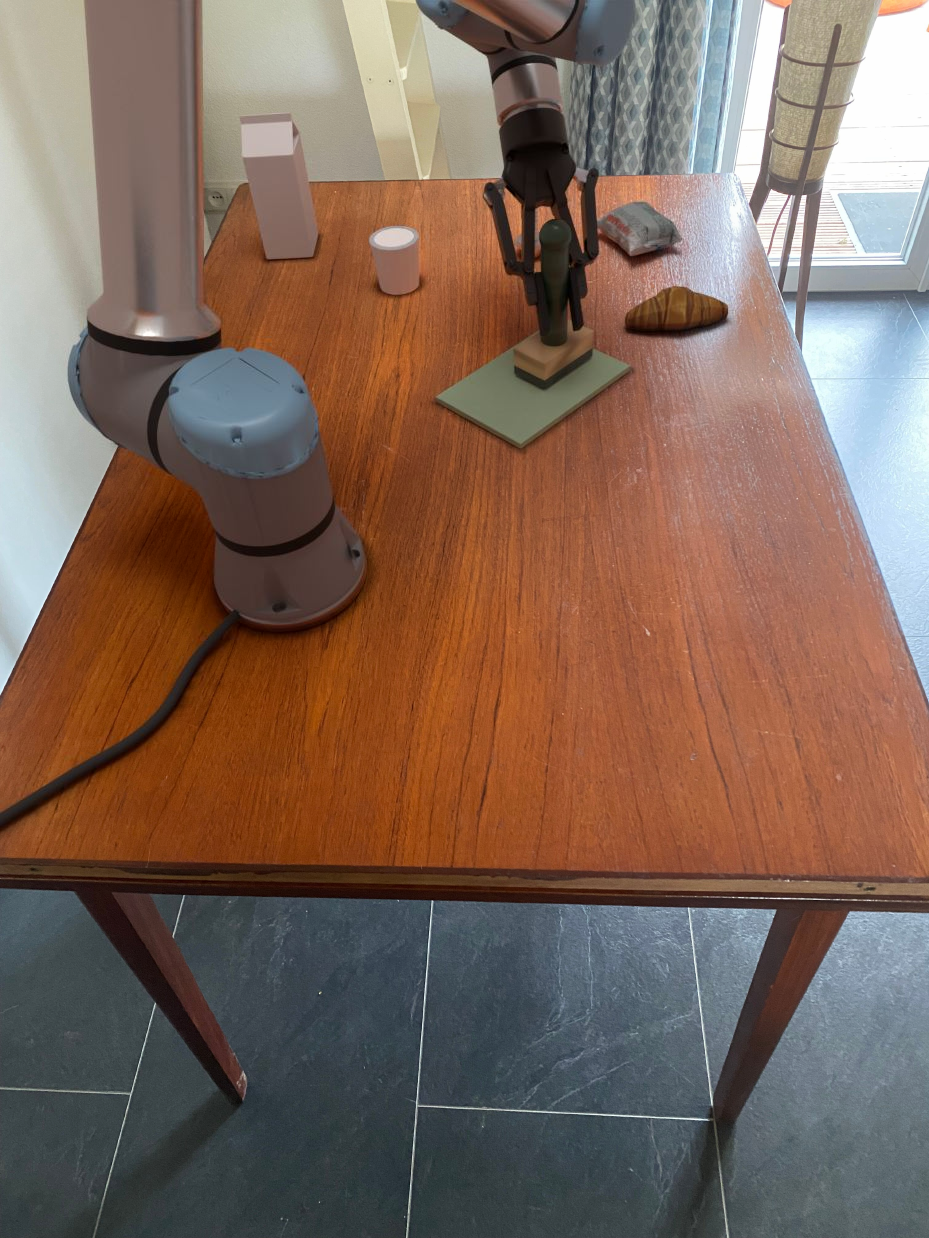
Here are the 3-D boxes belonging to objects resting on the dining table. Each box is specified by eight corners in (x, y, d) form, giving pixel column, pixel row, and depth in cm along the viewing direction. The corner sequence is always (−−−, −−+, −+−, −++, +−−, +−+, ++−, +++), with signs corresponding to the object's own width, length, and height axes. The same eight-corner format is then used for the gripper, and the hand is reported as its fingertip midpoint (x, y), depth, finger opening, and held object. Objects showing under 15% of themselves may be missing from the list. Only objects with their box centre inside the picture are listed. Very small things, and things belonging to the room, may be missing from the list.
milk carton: (313, 258, 136) (287, 123, 121) (266, 260, 136) (234, 126, 122) (319, 235, 140) (294, 102, 126) (273, 237, 141) (243, 105, 126)
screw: (553, 249, 133) (540, 264, 130) (522, 243, 134) (509, 259, 132) (554, 157, 123) (540, 172, 120) (521, 152, 125) (507, 167, 122)
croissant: (719, 305, 120) (725, 269, 117) (733, 332, 116) (740, 296, 112) (618, 315, 120) (621, 280, 117) (629, 343, 116) (632, 308, 112)
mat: (520, 449, 103) (520, 444, 103) (435, 402, 110) (435, 396, 110) (630, 370, 112) (630, 365, 111) (544, 331, 119) (544, 325, 118)
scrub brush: (544, 389, 109) (545, 243, 95) (514, 373, 111) (510, 229, 97) (592, 356, 113) (600, 211, 99) (562, 341, 115) (565, 198, 101)
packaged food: (629, 270, 128) (632, 236, 124) (588, 235, 135) (590, 201, 131) (682, 255, 130) (686, 221, 126) (639, 221, 137) (642, 188, 133)
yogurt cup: (432, 278, 130) (428, 231, 124) (405, 301, 126) (399, 253, 121) (394, 268, 132) (388, 221, 127) (366, 290, 129) (358, 242, 123)
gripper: (594, 127, 106) (623, 328, 108) (457, 145, 106) (489, 348, 107) (608, 94, 99) (639, 311, 101) (462, 114, 98) (495, 332, 100)
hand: (561, 330), depth 104 cm, fingers closed on scrub brush, 3 cm apart
